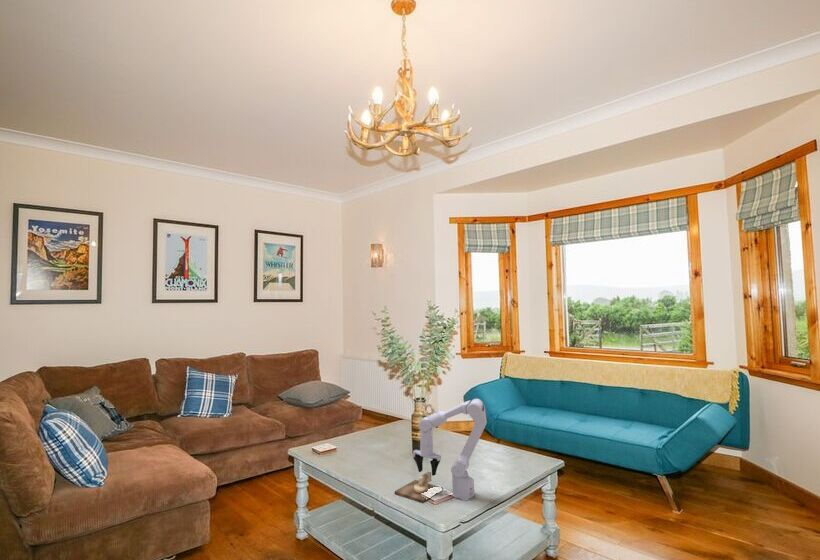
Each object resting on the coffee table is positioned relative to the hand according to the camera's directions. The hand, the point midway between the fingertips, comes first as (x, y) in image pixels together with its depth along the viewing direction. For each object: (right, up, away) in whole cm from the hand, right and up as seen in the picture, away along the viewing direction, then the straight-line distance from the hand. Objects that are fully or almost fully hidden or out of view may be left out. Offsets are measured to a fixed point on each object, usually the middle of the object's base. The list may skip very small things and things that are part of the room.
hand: (427, 473), depth 209 cm
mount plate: (-4, -8, -2) cm, 9 cm away
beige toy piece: (-2, -6, -2) cm, 7 cm away
